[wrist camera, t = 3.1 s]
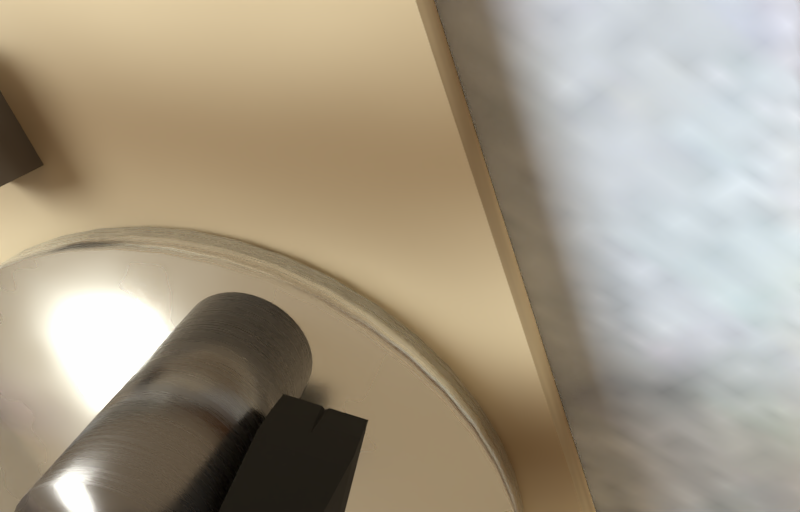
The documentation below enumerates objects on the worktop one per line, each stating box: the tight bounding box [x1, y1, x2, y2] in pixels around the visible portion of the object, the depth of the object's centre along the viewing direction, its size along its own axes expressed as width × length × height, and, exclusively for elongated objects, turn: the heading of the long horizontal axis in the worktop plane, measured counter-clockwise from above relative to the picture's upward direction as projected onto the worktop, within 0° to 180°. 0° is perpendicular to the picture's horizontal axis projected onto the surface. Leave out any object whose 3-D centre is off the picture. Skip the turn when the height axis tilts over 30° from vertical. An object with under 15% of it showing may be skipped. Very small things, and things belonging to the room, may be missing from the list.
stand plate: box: [0, 0, 596, 512], centre depth 15 cm, size 24×16×3 cm, turn 20°
